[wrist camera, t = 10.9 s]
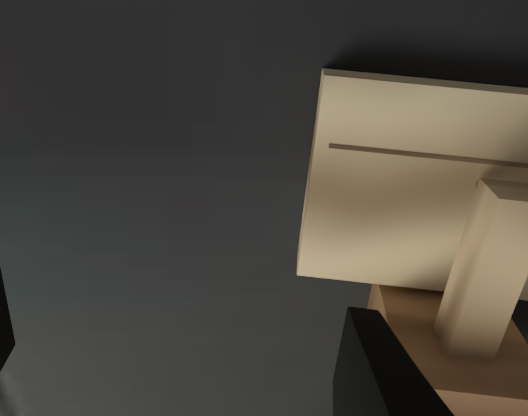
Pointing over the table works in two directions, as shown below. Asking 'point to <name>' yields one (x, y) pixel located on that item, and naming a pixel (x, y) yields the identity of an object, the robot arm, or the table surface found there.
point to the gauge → (472, 310)
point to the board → (403, 173)
